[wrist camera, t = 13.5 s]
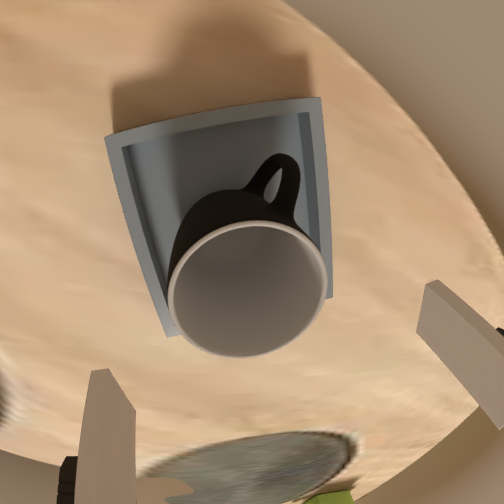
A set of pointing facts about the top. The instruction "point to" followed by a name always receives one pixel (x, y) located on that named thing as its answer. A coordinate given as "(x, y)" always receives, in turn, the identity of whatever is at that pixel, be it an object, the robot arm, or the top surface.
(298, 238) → the mug
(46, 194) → the top surface
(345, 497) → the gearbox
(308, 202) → the gray tray
